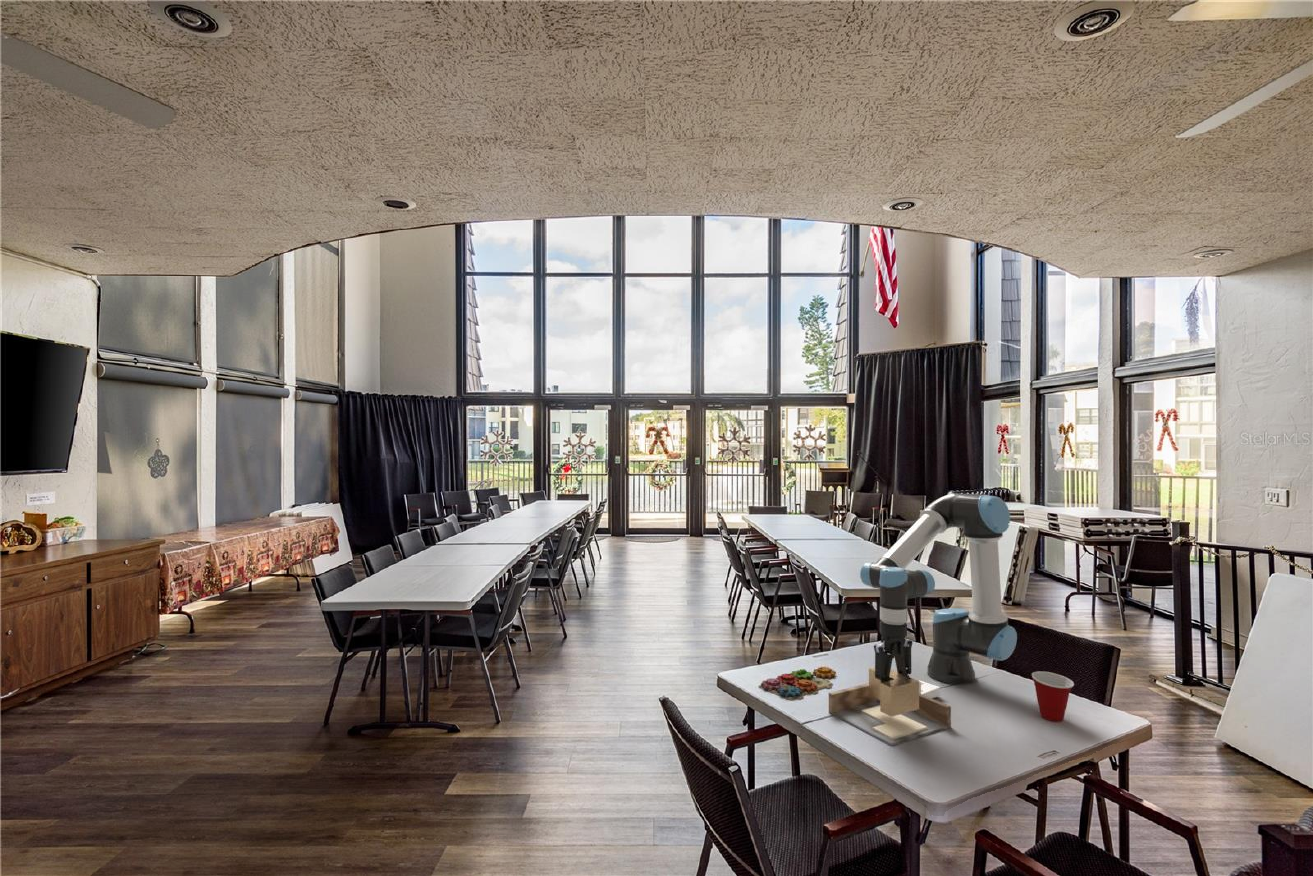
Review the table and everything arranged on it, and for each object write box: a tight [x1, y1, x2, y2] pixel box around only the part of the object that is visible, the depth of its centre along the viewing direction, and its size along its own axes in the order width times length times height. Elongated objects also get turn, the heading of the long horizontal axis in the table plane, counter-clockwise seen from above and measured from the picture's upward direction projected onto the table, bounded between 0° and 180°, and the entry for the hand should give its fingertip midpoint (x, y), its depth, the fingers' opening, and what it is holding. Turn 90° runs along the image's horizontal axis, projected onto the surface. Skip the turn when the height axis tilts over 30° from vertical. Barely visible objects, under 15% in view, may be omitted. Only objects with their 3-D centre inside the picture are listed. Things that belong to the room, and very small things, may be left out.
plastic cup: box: [1031, 670, 1075, 723], centre depth 192 cm, size 11×11×12 cm
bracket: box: [918, 680, 941, 699], centre depth 206 cm, size 13×7×8 cm, turn 125°
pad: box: [862, 706, 927, 740], centre depth 187 cm, size 14×17×1 cm
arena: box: [828, 682, 952, 747], centre depth 191 cm, size 24×24×6 cm
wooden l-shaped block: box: [868, 666, 920, 717], centre depth 187 cm, size 14×11×8 cm
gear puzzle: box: [758, 666, 837, 701], centre depth 219 cm, size 31×16×4 cm, turn 127°
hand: (893, 701), depth 189 cm, fingers closed on wooden l-shaped block, 5 cm apart
